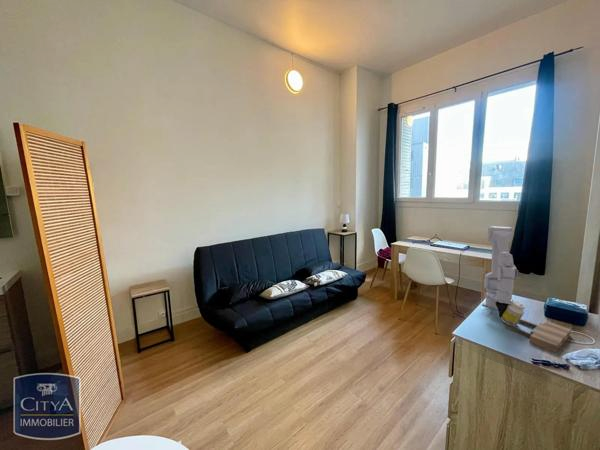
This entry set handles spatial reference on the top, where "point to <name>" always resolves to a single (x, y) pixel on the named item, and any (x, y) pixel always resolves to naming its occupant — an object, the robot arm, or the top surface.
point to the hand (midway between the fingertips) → (501, 316)
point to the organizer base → (545, 334)
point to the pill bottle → (513, 313)
